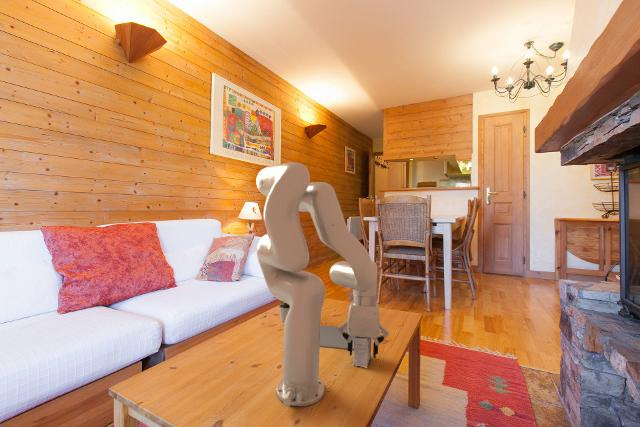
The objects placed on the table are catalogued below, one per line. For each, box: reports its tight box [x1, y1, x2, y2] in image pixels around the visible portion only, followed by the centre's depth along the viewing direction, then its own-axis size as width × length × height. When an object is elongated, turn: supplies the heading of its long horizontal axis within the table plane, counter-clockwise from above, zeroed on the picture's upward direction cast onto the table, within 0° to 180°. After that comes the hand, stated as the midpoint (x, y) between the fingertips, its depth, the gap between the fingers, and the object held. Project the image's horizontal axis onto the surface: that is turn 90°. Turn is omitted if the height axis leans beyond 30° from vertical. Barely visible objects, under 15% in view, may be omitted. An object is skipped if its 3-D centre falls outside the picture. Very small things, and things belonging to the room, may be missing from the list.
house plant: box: [272, 296, 290, 323], centre depth 125 cm, size 14×14×16 cm
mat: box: [320, 324, 355, 350], centre depth 112 cm, size 18×22×1 cm
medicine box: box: [352, 337, 373, 368], centre depth 94 cm, size 8×4×9 cm, turn 161°
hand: (362, 354), depth 94 cm, fingers open, 6 cm apart
